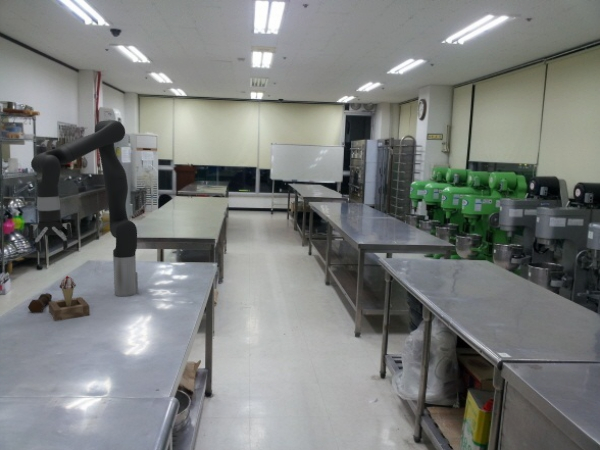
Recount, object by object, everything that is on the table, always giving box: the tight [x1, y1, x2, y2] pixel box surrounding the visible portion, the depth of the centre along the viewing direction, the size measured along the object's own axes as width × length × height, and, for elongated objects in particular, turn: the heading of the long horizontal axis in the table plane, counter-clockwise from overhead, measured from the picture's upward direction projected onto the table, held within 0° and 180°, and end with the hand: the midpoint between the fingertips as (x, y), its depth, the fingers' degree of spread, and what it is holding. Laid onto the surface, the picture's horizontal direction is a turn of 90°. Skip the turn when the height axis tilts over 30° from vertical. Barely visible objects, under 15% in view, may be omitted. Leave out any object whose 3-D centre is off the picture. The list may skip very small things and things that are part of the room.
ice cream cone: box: [59, 275, 77, 307], centre depth 183 cm, size 6×6×15 cm
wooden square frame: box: [48, 296, 90, 322], centre depth 184 cm, size 12×12×4 cm
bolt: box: [27, 292, 53, 314], centre depth 191 cm, size 6×5×15 cm
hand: (52, 250), depth 180 cm, fingers open, 8 cm apart
